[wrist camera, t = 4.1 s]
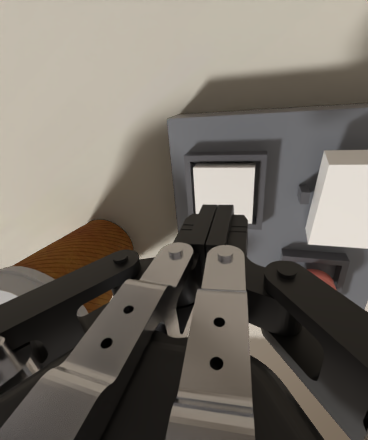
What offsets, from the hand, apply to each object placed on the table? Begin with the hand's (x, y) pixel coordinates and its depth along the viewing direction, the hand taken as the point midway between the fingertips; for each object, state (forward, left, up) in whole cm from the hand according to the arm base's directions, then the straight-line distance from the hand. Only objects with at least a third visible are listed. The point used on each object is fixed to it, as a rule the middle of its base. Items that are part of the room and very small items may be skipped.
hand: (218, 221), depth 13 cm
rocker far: (+1, +7, -5) cm, 9 cm away
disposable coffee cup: (+9, -14, -10) cm, 19 cm away
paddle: (+1, 0, -6) cm, 6 cm away
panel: (+4, +3, -9) cm, 11 cm away
